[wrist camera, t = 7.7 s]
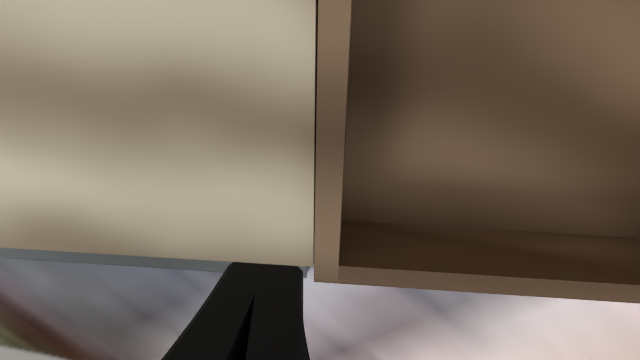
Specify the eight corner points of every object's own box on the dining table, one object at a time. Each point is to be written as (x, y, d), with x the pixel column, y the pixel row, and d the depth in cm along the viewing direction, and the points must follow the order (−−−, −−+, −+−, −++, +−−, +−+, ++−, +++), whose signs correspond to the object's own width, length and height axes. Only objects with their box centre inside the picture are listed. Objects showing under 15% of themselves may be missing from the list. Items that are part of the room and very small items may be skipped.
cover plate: (317, 229, 21) (313, 266, 20) (8, 211, 22) (-22, 245, 20) (322, -91, 15) (316, -76, 13) (-111, -103, 16) (-168, -90, 14)
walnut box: (644, 245, 21) (681, 306, 18) (320, 225, 22) (313, 281, 19) (791, -77, 15) (875, -49, 12) (327, -92, 15) (319, -69, 13)
